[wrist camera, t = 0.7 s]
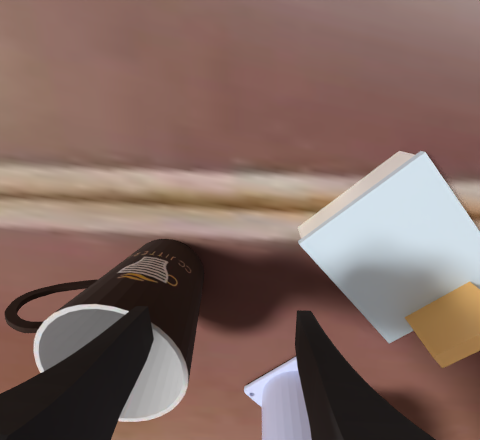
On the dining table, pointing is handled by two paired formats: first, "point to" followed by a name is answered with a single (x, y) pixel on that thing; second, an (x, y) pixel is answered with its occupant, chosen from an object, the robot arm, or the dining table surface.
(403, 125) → the dining table surface
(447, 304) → the lid
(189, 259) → the coffee mug
